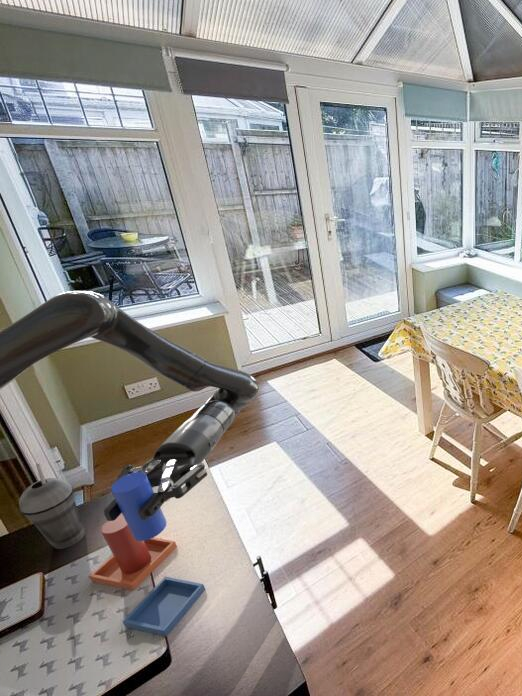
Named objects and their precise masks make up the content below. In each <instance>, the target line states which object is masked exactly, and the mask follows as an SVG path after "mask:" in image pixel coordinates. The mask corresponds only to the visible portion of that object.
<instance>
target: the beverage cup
mask: <svg viewBox="0 0 522 696" xmlns="http://www.w3.org/2000/svg"><path fill="white" fill-rule="evenodd" d="M35 467H36V470H37V473H38V476H39V479H40V480H38V481H35V482H33V483H32V484H30V485H29V486H28V487H26V489H25V490H23V492H22V494H21V495H20V498H19V499H18V504H19V505H18V506H19V511H20V514H22V515H23V516H24V517H25V518H27V519H28V520H30V521H31V523H32V524H33V525H34V526H35V527H36V529H37V530H38V531H39V532H40V534H41V535H42V536H43V537H44V538H45V540H47V542H48V543H49V544H50V546H52V547H53V548H54V549H56V550H63V549H64V550H65V549H67V548H70V547H72V546H74V545H76V544H77V543H79V542H80V541H81V540H82V539H83V538H84V536H85V533H86V532H85V531H86V530H85V527H84V524H83V521H82V518H81V515H80V512H79V508H78V506H77V503H76V498H75V497H76V496H75V488H74V487H73V486H72V485H71V484H70V483H69V482H68V481H66V480H64V479H62V478H57V477H50V478H45V476H44V473H43V470H42V466H41V463H36V464H35Z"/></svg>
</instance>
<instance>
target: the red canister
mask: <svg viewBox="0 0 522 696" xmlns="http://www.w3.org/2000/svg"><path fill="white" fill-rule="evenodd" d="M100 532H101V534H102V537H103V538H104V539H105V542H106V545H108V548H109V549H110V552H111V553H112V555H113V556H114V557H115V559H116V561H117V563H118V565H119V567H120V569H121V571H122V573H124V574H131V573H134V572H137V571H139V570H140V569H142V568H143V567H145V566H146V565H147V564H148V562H149V561H150V558H151V555H150V553H149V551H148V549H147V546H146V544H145V542H144V541H137V540H135V539H134V537H133V535H132V533H131V530H130V528H129V526H128V524H127V522H126V520H125V518H124V516H123V514H122V513H121V514H120V515H119V516H118V517H117V518H116V520H114V521H108V520H106V522H104V524H103V525H102V526H101V528H100Z"/></svg>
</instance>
